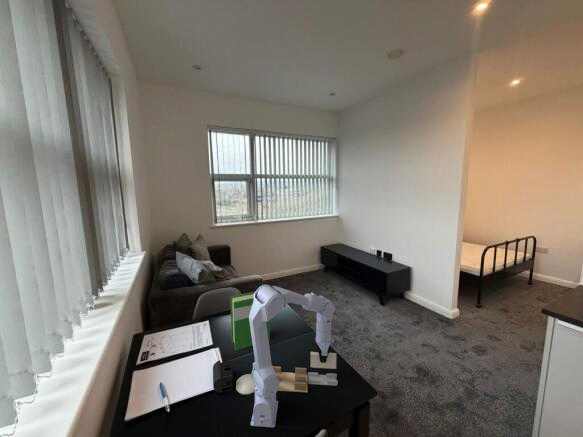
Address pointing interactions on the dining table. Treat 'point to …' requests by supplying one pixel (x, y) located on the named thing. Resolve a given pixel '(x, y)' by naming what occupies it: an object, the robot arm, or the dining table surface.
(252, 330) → the robot arm
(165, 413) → the dining table surface
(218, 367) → the end cap
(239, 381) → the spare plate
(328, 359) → the white curved panel
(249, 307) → the hardback book
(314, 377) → the plate stand
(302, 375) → the dish rack
